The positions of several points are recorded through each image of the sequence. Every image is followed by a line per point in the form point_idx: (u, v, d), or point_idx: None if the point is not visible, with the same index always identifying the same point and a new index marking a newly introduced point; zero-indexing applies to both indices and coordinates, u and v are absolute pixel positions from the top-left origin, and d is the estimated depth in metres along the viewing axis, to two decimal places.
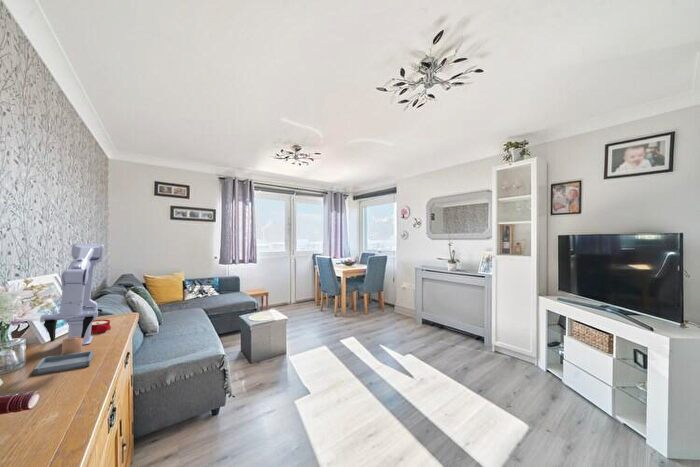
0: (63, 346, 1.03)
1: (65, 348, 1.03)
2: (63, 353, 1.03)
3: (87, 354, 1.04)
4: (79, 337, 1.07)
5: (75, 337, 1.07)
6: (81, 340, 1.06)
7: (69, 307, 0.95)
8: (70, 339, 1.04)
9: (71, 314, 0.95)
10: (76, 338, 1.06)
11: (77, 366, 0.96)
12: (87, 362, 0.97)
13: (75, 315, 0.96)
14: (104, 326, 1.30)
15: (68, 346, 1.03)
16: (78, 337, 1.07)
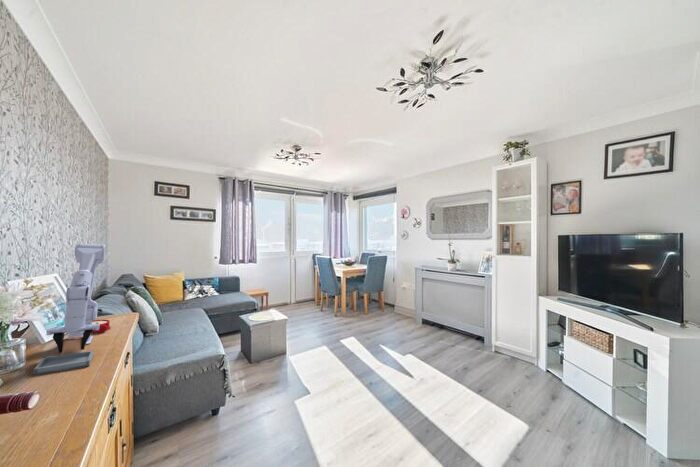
0: (63, 346, 1.03)
1: (65, 348, 1.03)
2: (63, 353, 1.03)
3: (87, 354, 1.04)
4: (79, 337, 1.07)
5: (75, 337, 1.07)
6: (81, 340, 1.06)
7: (73, 321, 1.04)
8: (70, 339, 1.04)
9: (75, 328, 1.04)
10: (76, 338, 1.06)
11: (77, 366, 0.96)
12: (87, 362, 0.97)
13: (78, 328, 1.05)
14: (104, 326, 1.30)
15: (68, 346, 1.03)
16: (78, 337, 1.07)
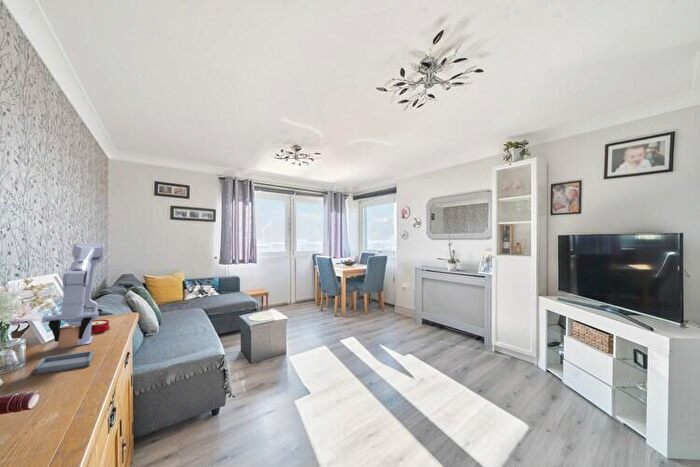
0: (60, 335, 0.96)
1: (61, 337, 0.96)
2: (60, 342, 0.96)
3: (87, 354, 1.04)
4: (77, 326, 1.00)
5: (72, 326, 1.00)
6: (79, 329, 1.00)
7: (70, 308, 0.97)
8: (67, 327, 0.98)
9: (72, 315, 0.97)
10: (74, 327, 0.99)
11: (77, 366, 0.96)
12: (87, 362, 0.97)
13: (76, 316, 0.98)
14: (103, 326, 1.30)
15: (65, 335, 0.96)
16: (76, 326, 1.00)
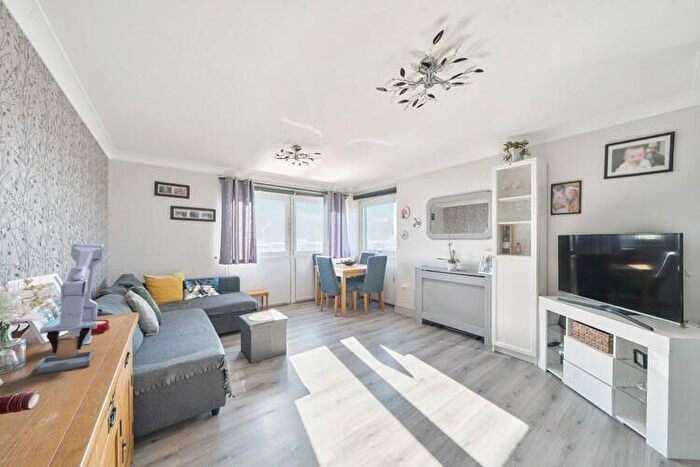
0: (58, 346, 0.95)
1: (60, 348, 0.95)
2: (58, 353, 0.95)
3: (87, 354, 1.04)
4: (75, 336, 1.00)
5: (71, 336, 0.99)
6: (77, 339, 0.99)
7: (69, 318, 0.96)
8: (65, 338, 0.97)
9: (70, 326, 0.96)
10: (72, 337, 0.98)
11: (77, 366, 0.96)
12: (87, 362, 0.97)
13: (74, 327, 0.97)
14: (103, 326, 1.30)
15: (63, 346, 0.95)
16: (74, 336, 1.00)
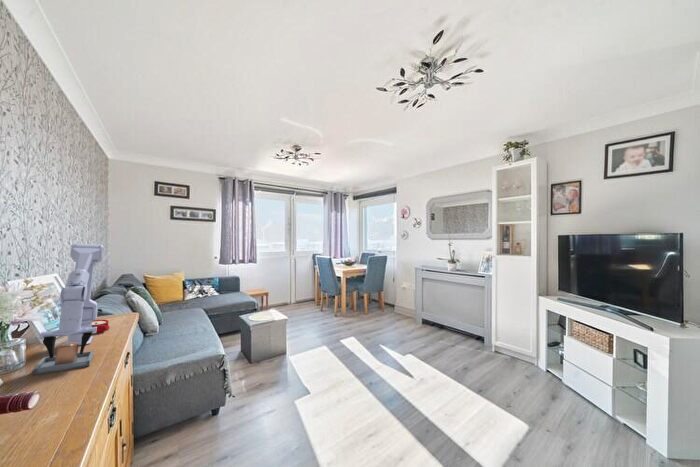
0: (57, 353, 0.95)
1: (59, 356, 0.95)
2: (57, 361, 0.95)
3: (87, 354, 1.04)
4: (74, 343, 0.99)
5: (70, 343, 0.99)
6: (76, 347, 0.99)
7: (68, 323, 0.96)
8: (64, 346, 0.97)
9: (70, 331, 0.96)
10: (71, 344, 0.98)
11: (77, 366, 0.96)
12: (87, 362, 0.97)
13: (74, 331, 0.97)
14: (103, 326, 1.30)
15: (62, 353, 0.95)
16: (73, 343, 0.99)
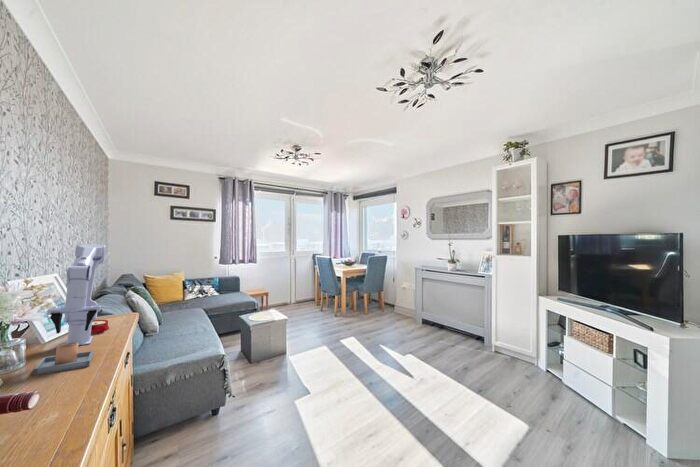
0: (57, 353, 0.95)
1: (59, 356, 0.95)
2: (57, 361, 0.95)
3: (87, 354, 1.04)
4: (74, 343, 0.99)
5: (70, 343, 0.99)
6: (76, 347, 0.99)
7: (74, 301, 1.01)
8: (64, 346, 0.97)
9: (76, 308, 1.02)
10: (71, 344, 0.98)
11: (77, 366, 0.96)
12: (87, 362, 0.97)
13: (79, 309, 1.02)
14: (103, 326, 1.30)
15: (62, 353, 0.95)
16: (73, 343, 0.99)
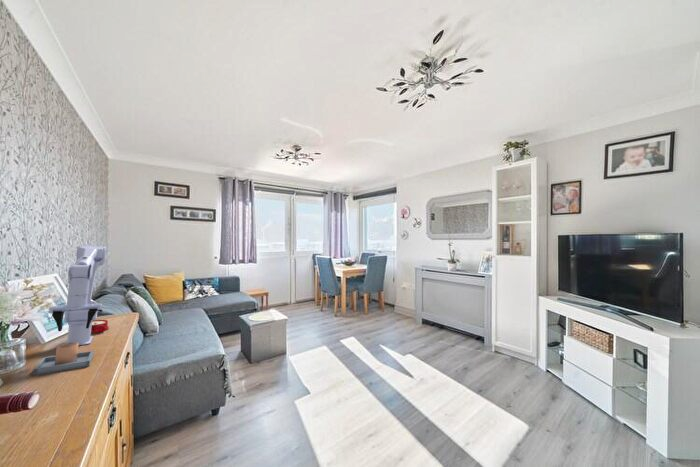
0: (57, 353, 0.95)
1: (59, 356, 0.95)
2: (57, 361, 0.95)
3: (87, 354, 1.04)
4: (74, 343, 0.99)
5: (70, 343, 0.99)
6: (76, 347, 0.99)
7: (75, 299, 1.03)
8: (64, 346, 0.97)
9: (77, 306, 1.04)
10: (71, 344, 0.98)
11: (77, 366, 0.96)
12: (87, 362, 0.97)
13: (81, 307, 1.04)
14: (102, 326, 1.30)
15: (62, 353, 0.95)
16: (73, 343, 0.99)
